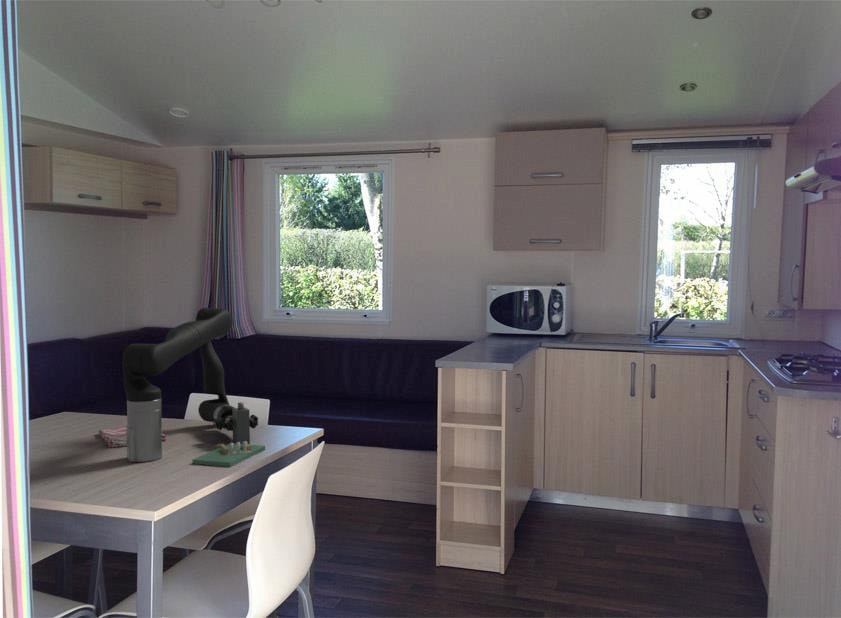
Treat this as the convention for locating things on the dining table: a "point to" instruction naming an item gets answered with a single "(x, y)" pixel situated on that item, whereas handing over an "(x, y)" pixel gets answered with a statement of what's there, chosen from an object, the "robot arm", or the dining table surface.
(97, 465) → the dining table surface
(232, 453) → the board
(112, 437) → the dish towel
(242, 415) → the block
